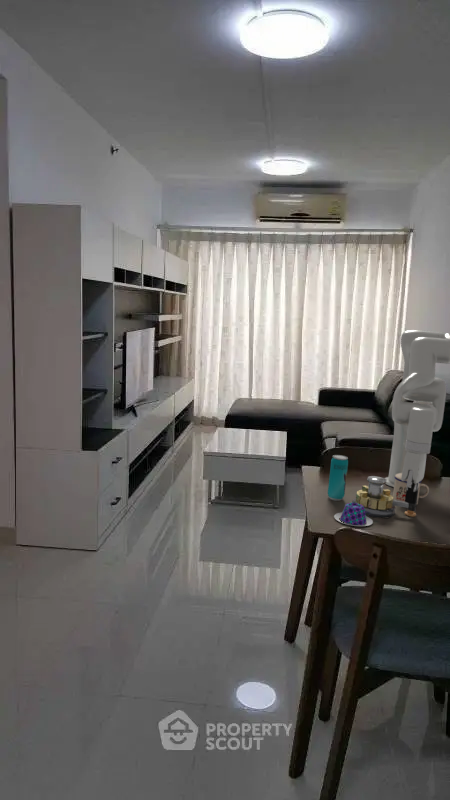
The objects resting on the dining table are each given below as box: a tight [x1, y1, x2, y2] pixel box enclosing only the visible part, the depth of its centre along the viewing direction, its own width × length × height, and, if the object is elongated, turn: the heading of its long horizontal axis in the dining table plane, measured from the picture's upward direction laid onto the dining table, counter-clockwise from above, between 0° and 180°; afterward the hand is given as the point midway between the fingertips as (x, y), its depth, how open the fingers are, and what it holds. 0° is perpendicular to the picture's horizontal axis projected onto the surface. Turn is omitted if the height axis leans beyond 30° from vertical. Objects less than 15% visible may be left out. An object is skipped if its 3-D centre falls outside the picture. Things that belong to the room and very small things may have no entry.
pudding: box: [333, 502, 374, 527], centre depth 192 cm, size 12×12×5 cm
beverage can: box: [327, 454, 349, 502], centre depth 211 cm, size 6×6×15 cm
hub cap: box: [351, 475, 396, 519], centre depth 202 cm, size 14×14×11 cm
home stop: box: [404, 509, 417, 517], centre depth 201 cm, size 4×4×8 cm
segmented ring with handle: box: [355, 485, 419, 512], centre depth 201 cm, size 19×12×8 cm, turn 71°
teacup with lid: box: [392, 473, 430, 506], centre depth 213 cm, size 12×9×12 cm
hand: (410, 502), depth 195 cm, fingers closed
